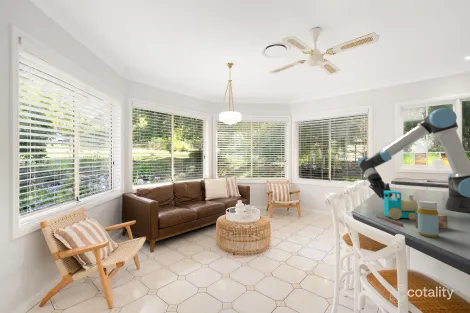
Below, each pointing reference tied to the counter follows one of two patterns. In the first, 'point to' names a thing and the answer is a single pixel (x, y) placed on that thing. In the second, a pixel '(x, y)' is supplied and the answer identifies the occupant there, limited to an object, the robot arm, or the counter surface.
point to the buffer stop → (441, 221)
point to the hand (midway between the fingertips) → (393, 206)
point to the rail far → (389, 220)
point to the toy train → (400, 206)
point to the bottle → (428, 218)
